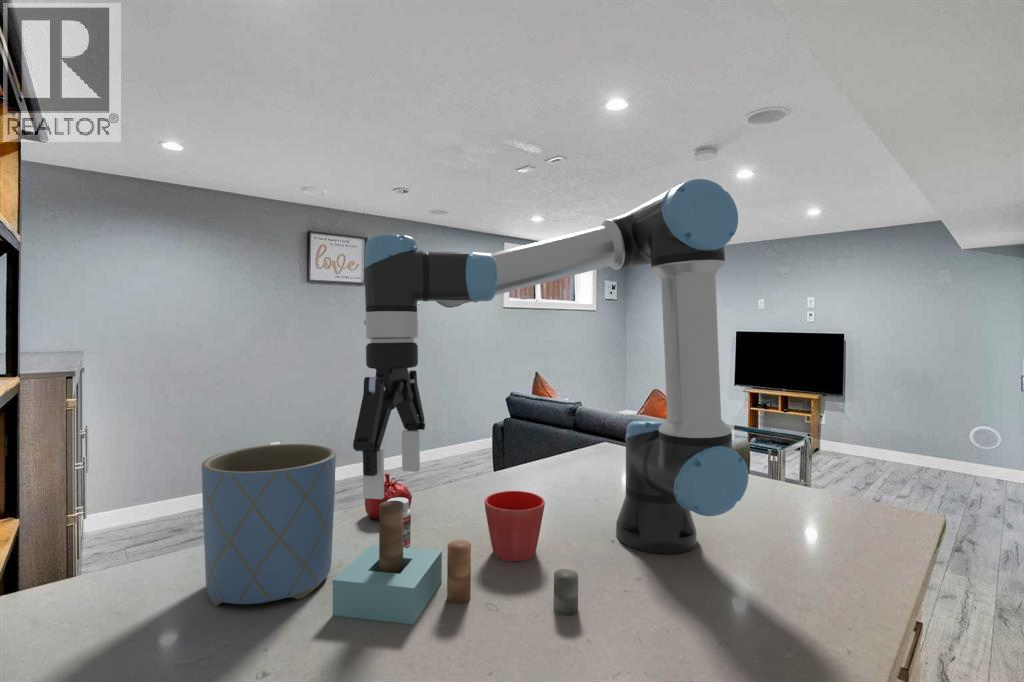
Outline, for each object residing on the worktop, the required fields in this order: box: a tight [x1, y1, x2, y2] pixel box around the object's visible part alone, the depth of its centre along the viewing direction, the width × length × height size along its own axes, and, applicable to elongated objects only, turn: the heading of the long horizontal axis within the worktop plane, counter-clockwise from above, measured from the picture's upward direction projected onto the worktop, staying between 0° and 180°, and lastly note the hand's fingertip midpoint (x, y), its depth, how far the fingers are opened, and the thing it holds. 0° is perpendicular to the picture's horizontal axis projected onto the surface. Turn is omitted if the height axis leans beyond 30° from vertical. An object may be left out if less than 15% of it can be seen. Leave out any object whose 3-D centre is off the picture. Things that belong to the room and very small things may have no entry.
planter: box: [201, 443, 337, 607], centre depth 80 cm, size 19×19×20 cm
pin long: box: [378, 501, 404, 574], centre depth 75 cm, size 4×4×14 cm
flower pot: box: [483, 490, 546, 563], centre depth 91 cm, size 11×11×10 cm
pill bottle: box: [388, 497, 412, 548], centre depth 94 cm, size 5×5×8 cm
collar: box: [332, 544, 443, 626], centre depth 75 cm, size 12×12×5 cm
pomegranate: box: [364, 472, 413, 521], centre depth 109 cm, size 10×10×9 cm
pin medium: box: [446, 539, 472, 605], centre depth 75 cm, size 4×4×8 cm
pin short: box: [553, 568, 579, 617], centre depth 73 cm, size 4×4×5 cm
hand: (394, 483), depth 75 cm, fingers open, 13 cm apart
